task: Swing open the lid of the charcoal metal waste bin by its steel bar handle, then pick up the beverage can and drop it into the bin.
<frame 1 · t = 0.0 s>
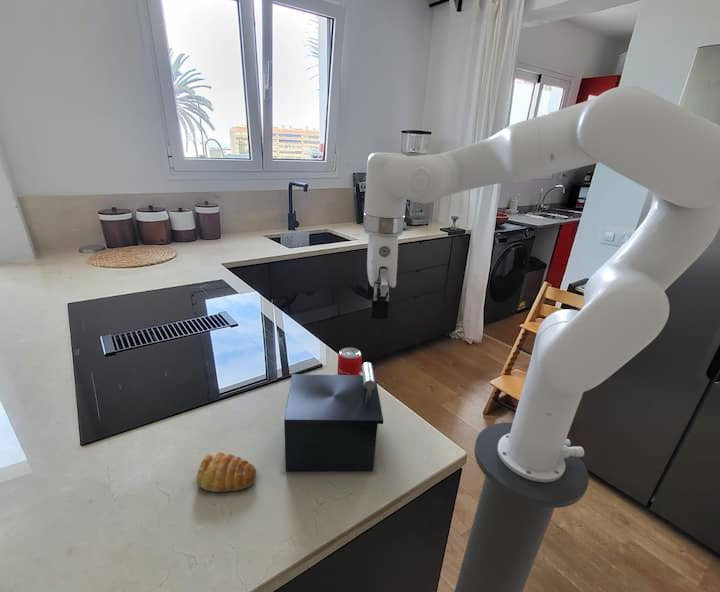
hand: (376, 308, 80), 23 cm above the counter, tool pointing down, fingers open, 9 cm apart
beverage can: (347, 398, 90), on the counter
bin lid: (334, 384, 70), point 14 cm above the counter, hinge at 0.0°
waste bin: (329, 444, 76), on the counter
pastry: (225, 478, 67), on the counter
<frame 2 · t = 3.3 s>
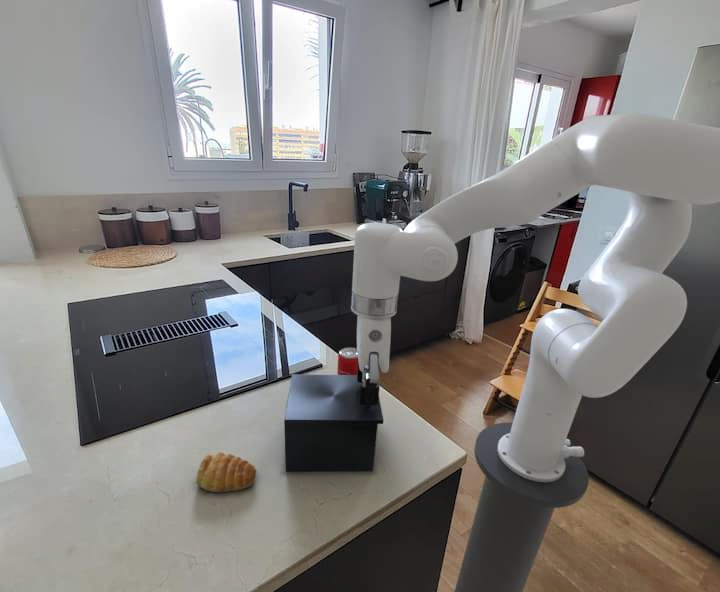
hand: (367, 391, 71), 13 cm above the counter, tool pointing down, fingers closed on bin lid, 6 cm apart
bin lid: (334, 384, 70), point 14 cm above the counter, hinge at 0.0°, touching gripper
everything else where it was.
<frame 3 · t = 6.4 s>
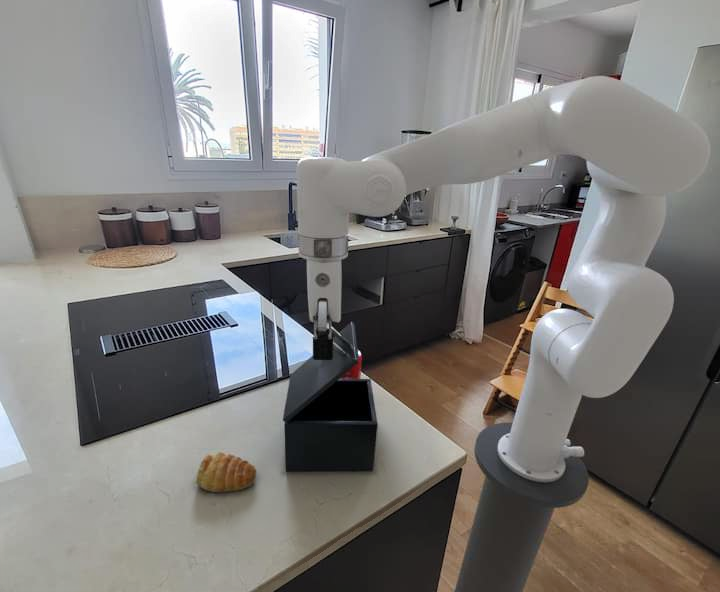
hand: (323, 347, 67), 22 cm above the counter, tool pointing down, fingers closed on bin lid, 6 cm apart
bin lid: (309, 360, 68), point 19 cm above the counter, hinge at 46.2°, touching gripper
everything else where it was.
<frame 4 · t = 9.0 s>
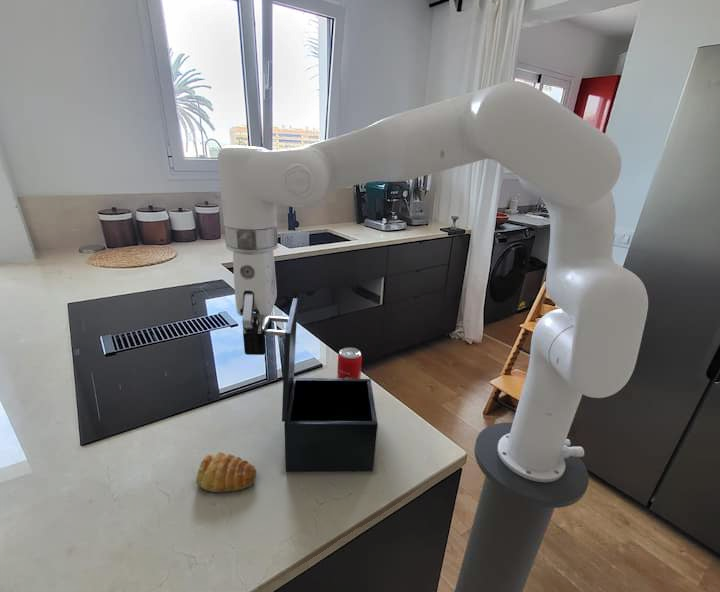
hand: (258, 342, 66), 22 cm above the counter, tool pointing down, fingers closed on bin lid, 6 cm apart
bin lid: (274, 356, 67), point 20 cm above the counter, hinge at 87.0°, touching gripper
everything else where it was.
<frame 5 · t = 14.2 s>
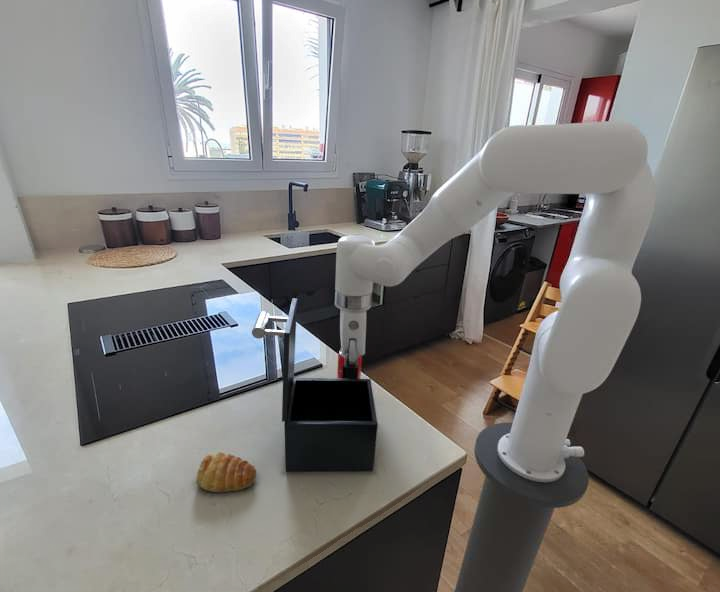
hand: (349, 372, 87), 7 cm above the counter, tool pointing down, fingers closed on beverage can, 5 cm apart
beverage can: (347, 398, 90), on the counter, touching gripper
bin lid: (273, 356, 67), point 20 cm above the counter, hinge at 87.4°
everything else where it was.
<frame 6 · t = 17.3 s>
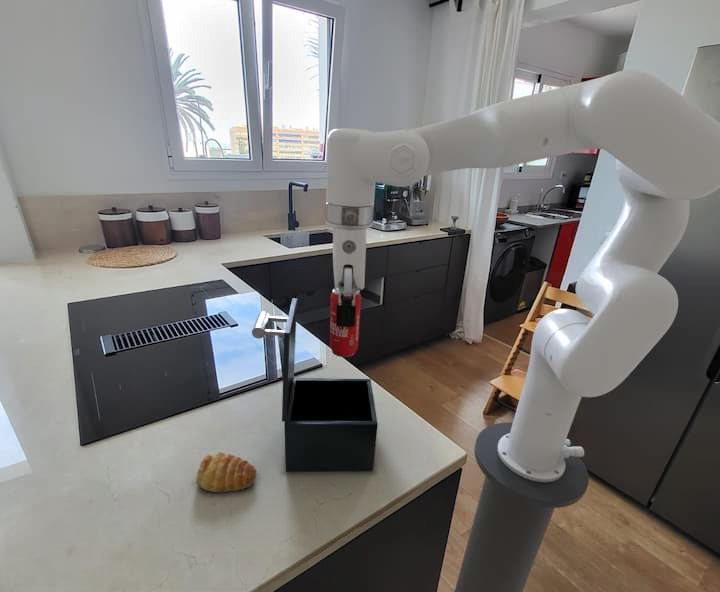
hand: (345, 317, 70), 25 cm above the counter, tool pointing down, fingers closed on beverage can, 5 cm apart
beverage can: (343, 351, 73), point 18 cm above the counter, touching gripper
everything else where it was.
when the fingers open (15 cm above the counter, at t = 20.4 s): beverage can drops 7 cm, resting on waste bin.
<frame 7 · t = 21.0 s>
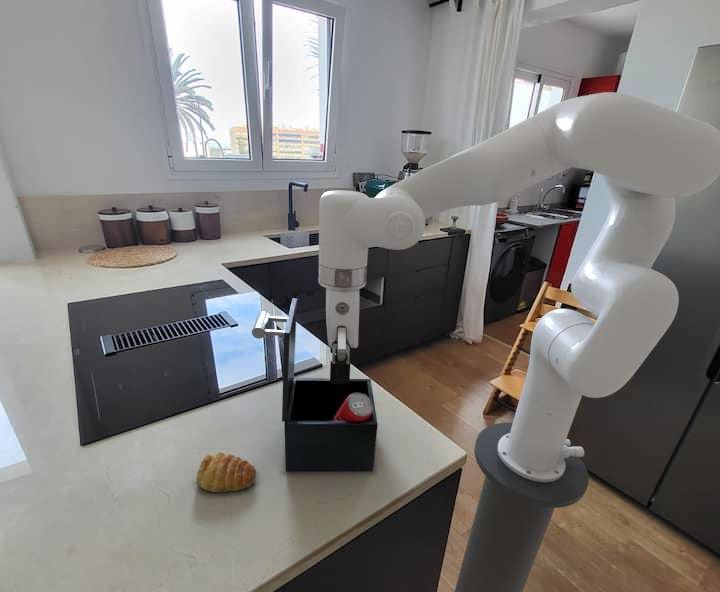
hand: (339, 366, 69), 18 cm above the counter, tool pointing down, fingers open, 9 cm apart
beverage can: (336, 438, 75), point 2 cm above the counter, touching waste bin
everything else where it was.
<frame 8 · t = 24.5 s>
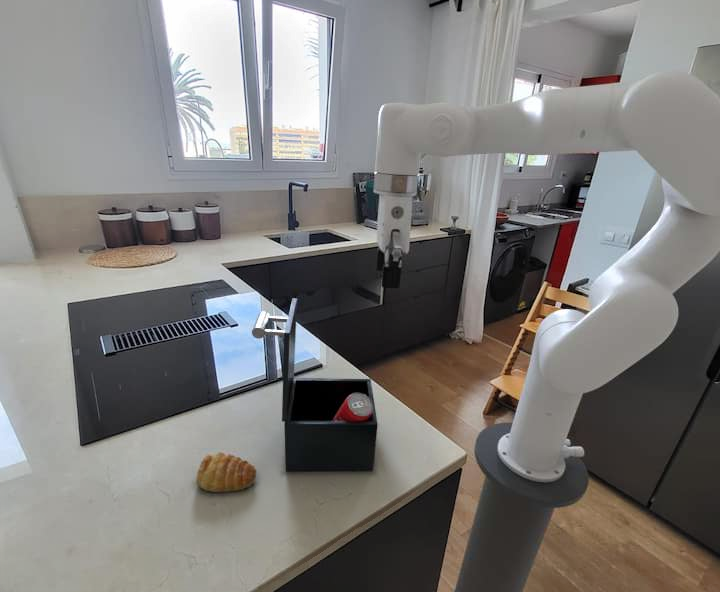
hand: (386, 278, 75), 30 cm above the counter, tool pointing down, fingers open, 9 cm apart
nothing on the counter moved.
at the end: bin lid at +87° (first picture: +0°); beverage can inside the target area in the waste bin (1.3 cm from its centre), point 1.7 cm above the waste bin's base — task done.
